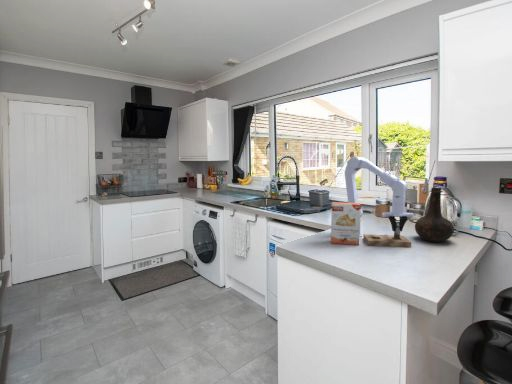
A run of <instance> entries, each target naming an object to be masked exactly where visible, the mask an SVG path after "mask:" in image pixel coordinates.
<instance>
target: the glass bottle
mask: <svg viewBox="0 0 512 384" xmlns="http://www.w3.org/2000/svg"><path fill="white" fill-rule="evenodd" d="M442 188H443V187H438V186H437V187H436V186H434V187H431V188H430V189H431V190H429V192H430V198H429V199H430V200H429V204H428V208H427V211H426V213H425V215H424V216H421V217H420V218H418V219H417V220H416V221H415V224H414V230H415V232H416V234H417V236H419V238H421V239H422V240H424V241H428V242H431V243H432V242H433V243H441V242H446V241H447V240H449V239H451V237H452V236H453V235H454V233H455V226H454V224H453V223H452V222H451V220H449V219H448V218H445V217H443V215H442V208H441V207H442V206H441V205H442V204H441V201H442V200H441V197H442V195H441V194H442V193H443V192H444V191H443V190H442Z"/></svg>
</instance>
